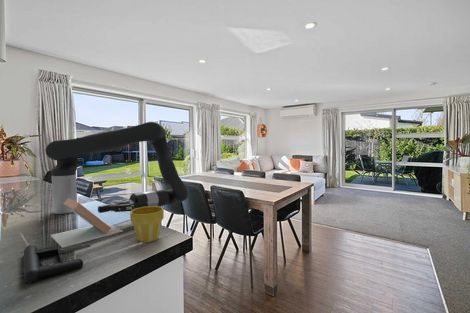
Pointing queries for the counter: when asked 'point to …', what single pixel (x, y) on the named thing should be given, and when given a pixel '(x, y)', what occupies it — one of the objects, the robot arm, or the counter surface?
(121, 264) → the counter surface
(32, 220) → the counter surface
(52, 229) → the counter surface
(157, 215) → the plant pot
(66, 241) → the grey mat
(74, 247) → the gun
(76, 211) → the terracotta tile
